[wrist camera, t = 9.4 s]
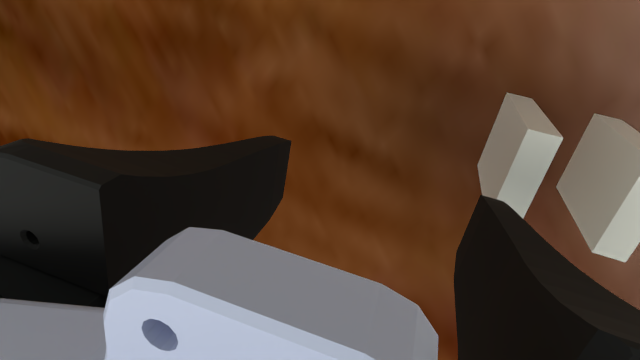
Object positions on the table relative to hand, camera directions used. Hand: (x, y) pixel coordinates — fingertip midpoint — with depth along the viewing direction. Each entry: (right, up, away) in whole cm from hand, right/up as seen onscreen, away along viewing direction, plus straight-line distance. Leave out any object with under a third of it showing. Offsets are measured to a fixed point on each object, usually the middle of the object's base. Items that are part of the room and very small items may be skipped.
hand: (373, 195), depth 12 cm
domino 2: (+11, +2, +8) cm, 14 cm away
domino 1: (+8, +3, +8) cm, 12 cm away
